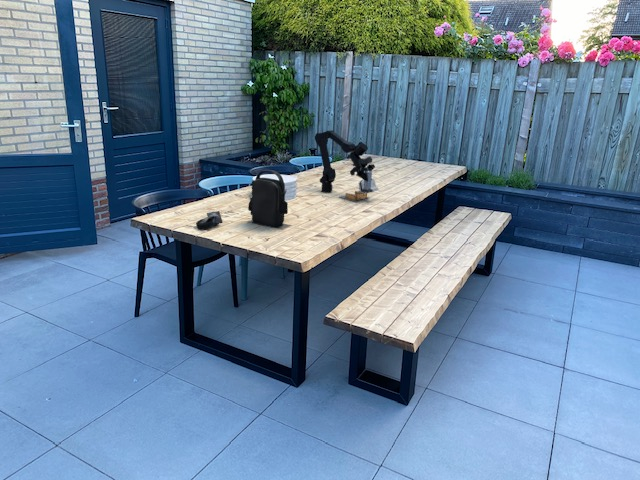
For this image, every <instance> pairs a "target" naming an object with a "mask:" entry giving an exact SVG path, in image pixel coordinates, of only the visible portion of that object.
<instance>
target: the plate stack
mask: <svg viewBox="0 0 640 480" xmlns="http://www.w3.org/2000/svg"><path fill="white" fill-rule="evenodd" d="M280 175H281V176H282V178H283V181H284V184H285V191H286V189H287V191H286V194H285V201H286V202H287V201H291V200H294V199H296V198H297V197H298V196H297V189H298V188H297V184H298V183H297V181H298V178H297V177H296V176H293V175H288V174H280ZM256 177H257V175H256V176H253V177H252V181H253V180H254V181H255V180H256ZM260 178H270V179H275V180H279V179H278V177H277V176H276V175H275V174H274V173H271V174H269V173H268V174H262V175H261V176H260Z"/></svg>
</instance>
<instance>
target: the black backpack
mask: <svg viewBox="0 0 640 480" xmlns="http://www.w3.org/2000/svg"><path fill="white" fill-rule="evenodd" d="M267 172H270V173H271V174H275V175H276V176H277V177H278V179H279V180H275V179H270V178H260V176H261V175H264V173H267ZM281 175H282V174H280V173H279V172H278V171H276V170H275V169H274V170H272V169H264V170H262V171H260V172H259V173H258V174H257V175H256V176H257V177H256V180H255V181H254V180H252V181H251V197H250V198H249V202H248V207H247V208H248V211H249V212H250V215H251V220H248V221H246V222H247V223H251V224H255V225H258V226H259V225H260V226H263V227H264V226H265V227H268V228H269V227H270V228H272V229H273V228H274V229H277V230H278V229H279V230H285V229H287V228H290V227H292V226H293V225H292V224H287V223H284V222H285V215H287V214H288V213H289V212H288V209H289V207H288V202H287V200H286V201H285V194H286V191H287V189H286V191H285V184H284V181H283V178H282V176H281Z"/></svg>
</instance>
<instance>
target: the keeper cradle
mask: <svg viewBox="0 0 640 480" xmlns="http://www.w3.org/2000/svg"><path fill="white" fill-rule="evenodd" d="M338 198H339V199H343V200H346V201H350V202H359V201H363V200H368V199H369V197H368V193H365V192H360V190H354V193H349V192H345V195H341V196H338Z"/></svg>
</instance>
